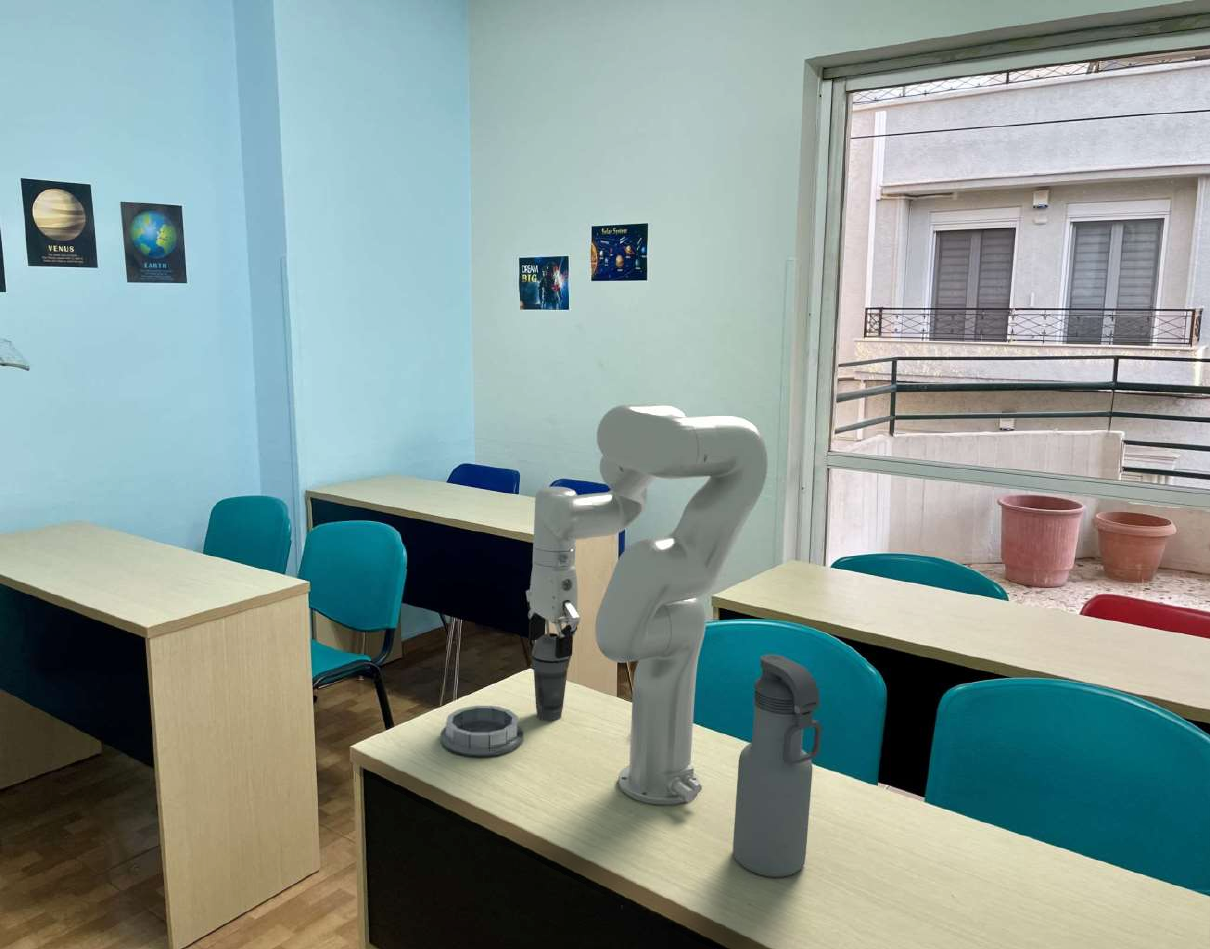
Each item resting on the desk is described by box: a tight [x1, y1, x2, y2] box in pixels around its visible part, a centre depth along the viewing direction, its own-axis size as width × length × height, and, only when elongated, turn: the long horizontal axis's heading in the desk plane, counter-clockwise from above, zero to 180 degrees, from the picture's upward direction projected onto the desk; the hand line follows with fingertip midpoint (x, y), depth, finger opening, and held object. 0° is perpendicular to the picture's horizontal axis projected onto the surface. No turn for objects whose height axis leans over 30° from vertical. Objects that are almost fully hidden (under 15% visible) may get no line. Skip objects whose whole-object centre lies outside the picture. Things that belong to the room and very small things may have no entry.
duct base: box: [440, 705, 524, 759], centre depth 160 cm, size 14×14×4 cm
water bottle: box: [732, 653, 823, 878], centre depth 125 cm, size 10×10×28 cm
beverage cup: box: [530, 620, 572, 722], centre depth 169 cm, size 7×7×20 cm
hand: (549, 647), depth 169 cm, fingers open, 9 cm apart
